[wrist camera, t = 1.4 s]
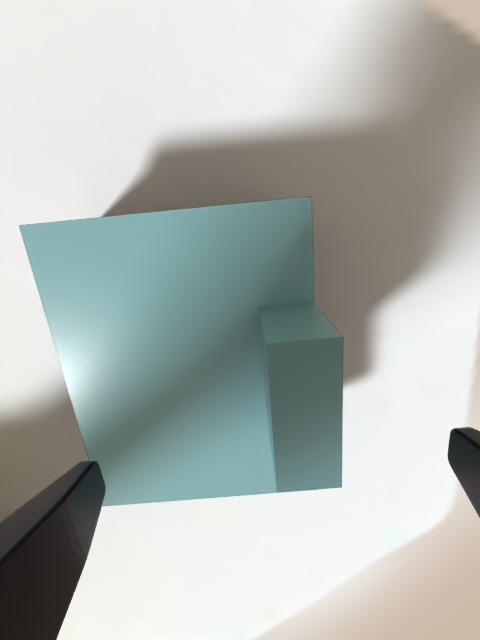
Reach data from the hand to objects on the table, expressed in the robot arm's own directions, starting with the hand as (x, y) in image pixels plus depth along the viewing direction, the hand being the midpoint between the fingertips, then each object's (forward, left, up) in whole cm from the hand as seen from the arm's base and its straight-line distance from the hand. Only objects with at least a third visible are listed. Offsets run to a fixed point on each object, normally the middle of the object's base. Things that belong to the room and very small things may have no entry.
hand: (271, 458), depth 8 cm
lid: (-1, +3, -8) cm, 9 cm away
